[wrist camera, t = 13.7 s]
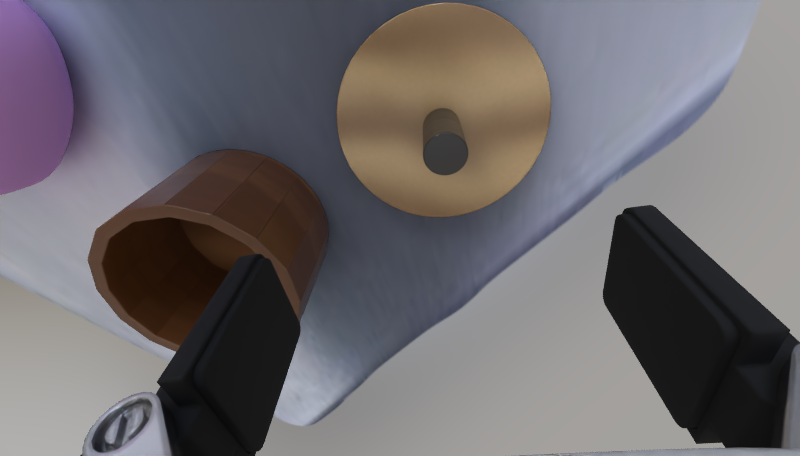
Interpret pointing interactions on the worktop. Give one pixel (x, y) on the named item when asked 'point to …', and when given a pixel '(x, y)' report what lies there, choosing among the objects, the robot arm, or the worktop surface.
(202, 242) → the brown wooden cylinder
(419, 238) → the worktop surface
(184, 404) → the robot arm
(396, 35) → the lid
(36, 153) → the teapot
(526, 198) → the worktop surface
